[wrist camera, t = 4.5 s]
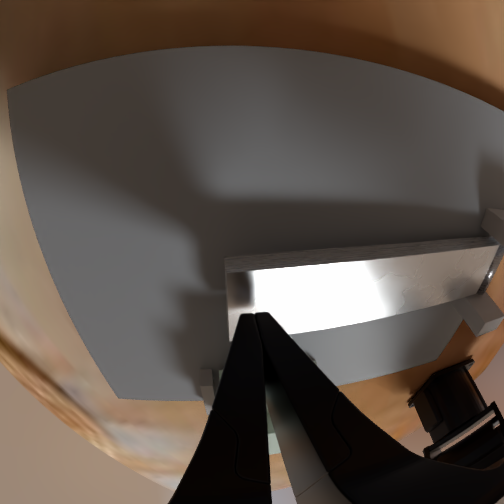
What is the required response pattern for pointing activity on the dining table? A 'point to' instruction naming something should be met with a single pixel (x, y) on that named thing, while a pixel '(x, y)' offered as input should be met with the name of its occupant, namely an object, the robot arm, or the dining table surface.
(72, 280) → the board
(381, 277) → the strap
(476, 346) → the dining table surface
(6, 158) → the dining table surface
